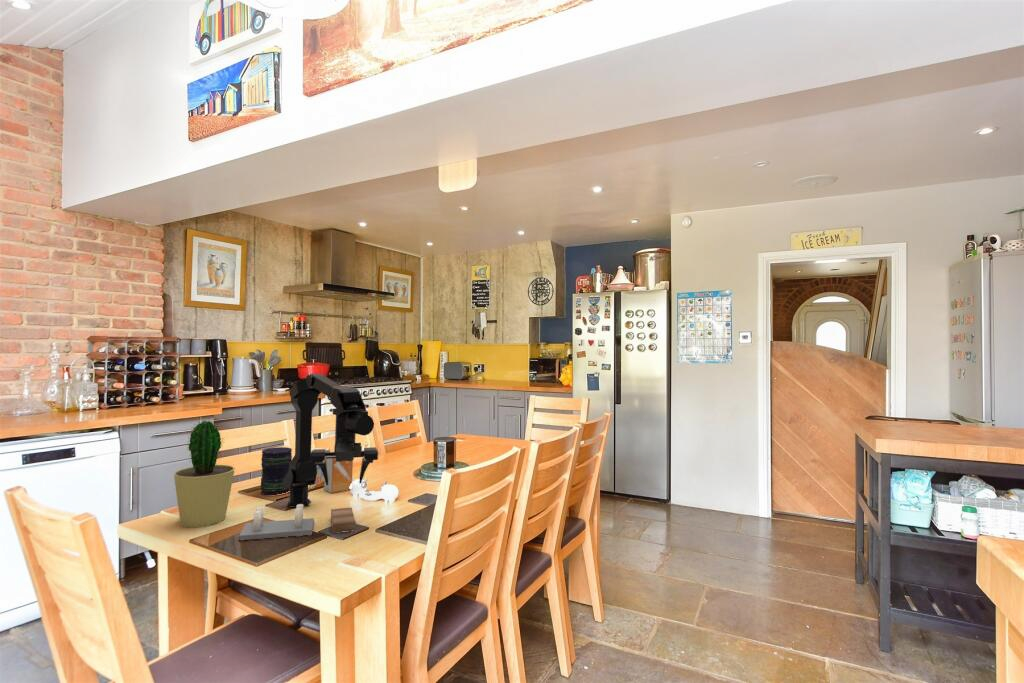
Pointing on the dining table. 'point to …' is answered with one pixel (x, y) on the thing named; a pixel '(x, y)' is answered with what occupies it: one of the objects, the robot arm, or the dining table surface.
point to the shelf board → (342, 520)
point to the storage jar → (275, 470)
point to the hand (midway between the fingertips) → (343, 484)
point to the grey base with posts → (277, 526)
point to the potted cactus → (203, 480)
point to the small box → (338, 475)
